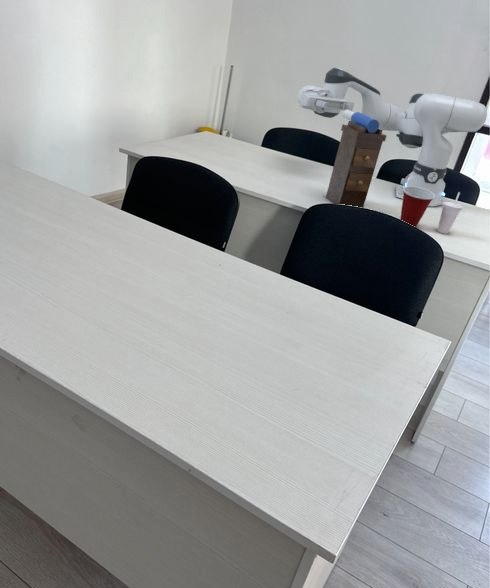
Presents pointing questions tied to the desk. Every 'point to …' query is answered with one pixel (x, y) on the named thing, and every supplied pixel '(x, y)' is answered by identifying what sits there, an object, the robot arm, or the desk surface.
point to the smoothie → (448, 215)
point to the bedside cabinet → (354, 165)
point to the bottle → (362, 120)
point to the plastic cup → (415, 204)
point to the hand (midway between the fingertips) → (336, 105)
